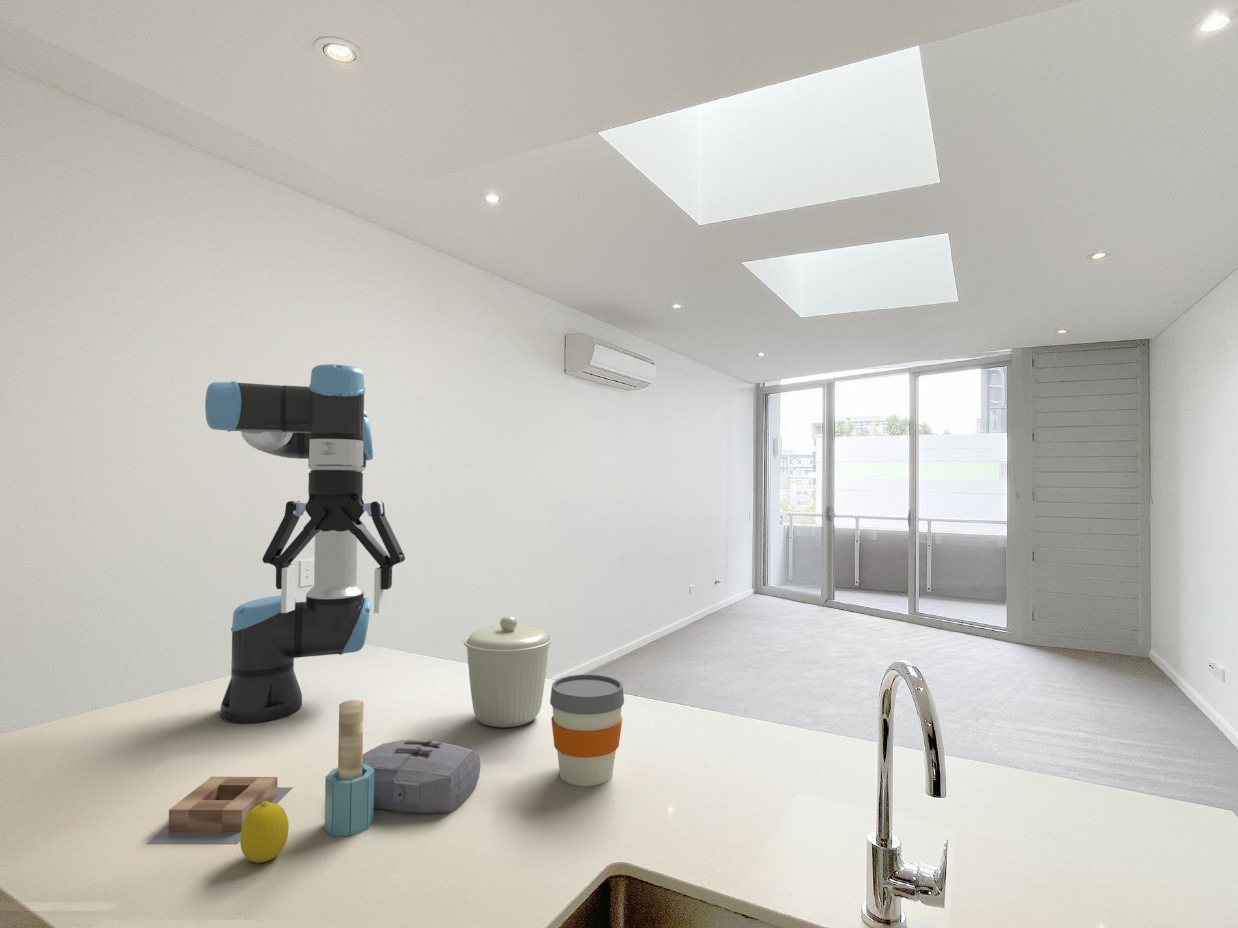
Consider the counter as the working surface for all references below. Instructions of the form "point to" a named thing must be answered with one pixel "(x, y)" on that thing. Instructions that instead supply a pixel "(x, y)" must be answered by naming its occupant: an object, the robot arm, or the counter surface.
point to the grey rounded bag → (422, 775)
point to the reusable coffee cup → (586, 726)
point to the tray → (206, 837)
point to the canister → (507, 672)
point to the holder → (221, 804)
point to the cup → (349, 803)
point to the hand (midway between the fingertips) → (333, 611)
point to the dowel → (350, 740)
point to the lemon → (264, 832)
